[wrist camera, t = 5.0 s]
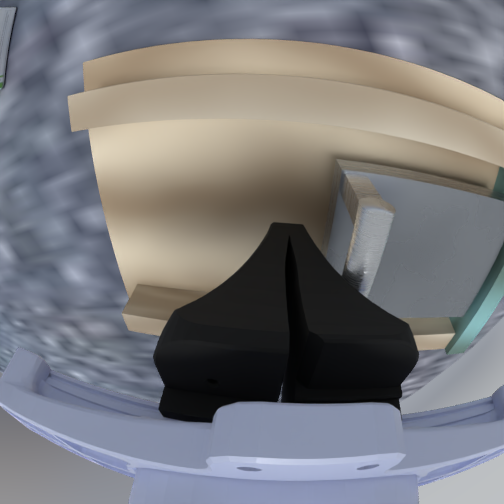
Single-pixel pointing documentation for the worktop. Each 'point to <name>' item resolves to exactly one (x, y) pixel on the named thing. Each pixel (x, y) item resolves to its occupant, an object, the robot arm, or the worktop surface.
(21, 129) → the worktop surface
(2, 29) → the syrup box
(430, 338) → the dock bay
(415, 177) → the slab with rounded spine
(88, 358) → the worktop surface
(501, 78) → the worktop surface
